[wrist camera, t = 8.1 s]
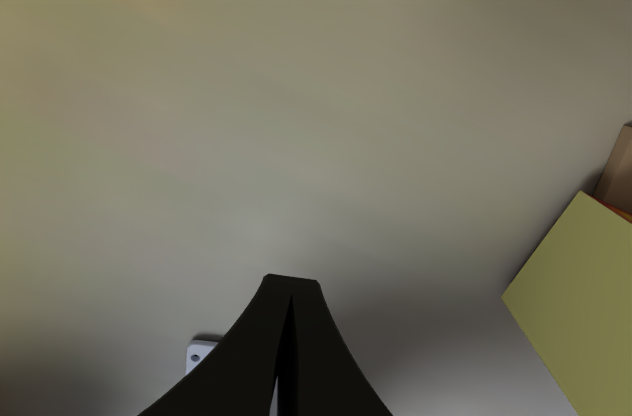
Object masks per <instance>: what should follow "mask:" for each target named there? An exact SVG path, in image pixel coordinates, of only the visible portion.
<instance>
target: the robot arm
mask: <svg viewBox="0 0 632 416" xmlns="http://www.w3.org/2000/svg"><path fill="white" fill-rule="evenodd" d="M194 355H198V356H199V357H196V356H194ZM137 416H393V415H392V414H391V412H390V411H389V410H388V409H387V407H386V406H385V405H384V403H383V402H382V401H381V399H380V398H379V397H378V395H377V394H376V392H375V391H374V390H373V388H372V387H371V385H370V384H369V382H368V381H367V379H366V378H365V376H364V375H363V373H362V372H361V370H360V368H359V367H358V365H357V363H356V362H355V360H354V358H353V357H352V355H351V353H350V352H349V350H348V348H347V346H346V344H345V342H344V341H343V339H342V337H341V335H340V333H339V331H338V329H337V327H336V325H335V322H334V320H333V318H332V316H331V314H330V311H329V309H328V307H327V304H326V302H325V299H324V296H323V293H322V290H321V287H320V284H319V283H318V282H317V280H311V279H304V278H297V277H290V276H283V275H276V274H267V275H266V276H264V277H263V280H262V283H261V285H260V287H259V289H258V290H257V292H256V294H255V295H254V297H253V298H252V300H251V302H250V303H249V305H248V306H247V307H246V309H245V310H244V312H243V313H242V314H241V316H240V317H239V318H238V320H237V321H236V322H235V324H234V325H233V326H232V327H231V329H230V330H229V331H228V332H227V333H226V334H225V336H224V337H223V338H222V339H221V340H220V341H219V342H211V341H202V340H193V341H191V342H190V343H189V345H188V347H187V356H186V376H185V377H184V378H183V379H182V380H181V381H179V382H178V383H177V384H176V385H175V386H174V387H173V388H171V389H170V390H169V391H168V392H167V393H166V394H164V395H163V396H162V397H161V398H160V399H158V400H157V401H156V402H155V403H153V404H152V405H151V406H149V407H148V408H147V409H145V410H144V411H143V412H141V413H140V414H139V415H137Z"/></svg>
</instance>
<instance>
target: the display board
mask: <svg viewBox="0 0 632 416" xmlns="http://www.w3.org/2000/svg"><path fill="white" fill-rule="evenodd" d="M593 197H596V198H598V199H600V200H602V201H604V202H606V203H608V204H610V205H613V206H615V207H617V208H619V209H621V210H623V211H625V212H628V213H630V214H632V126H625V125H624V126H623V128H622V130H621V133H620V135H619V137H618V139H617V142H616V144H615V146H614V148H613V151H612V153H611V155H610V157H609V160H608V162H607V164H606V167H605V169H604V171H603V173H602V176H601V178H600V180H599V182H598V185H597V187H596V189H595V192H594V194H593Z"/></svg>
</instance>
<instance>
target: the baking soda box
mask: <svg viewBox="0 0 632 416" xmlns="http://www.w3.org/2000/svg"><path fill="white" fill-rule="evenodd" d="M501 299H502V300H503V302H504V303H505V305H506V306H507V308H508V310H509V311H510V313H511V314H512V316H513V317H514V319H515V320H516V322H517V323H518V325H519V326H520V328H521V329H522V331H523V332H524V334H525V335H526V337H527V338H528V340H529V341H530V343H531V344H532V346H533V347H534V349H535V350H536V352H537V353H538V355H539V356H540V358H541V359H542V361H543V362H544V364H545V366H546V367H547V369H548V370H549V372H550V373H551V375H552V376H553V378H554V379H555V381H556V382H557V384H558V385H559V387H560V388H561V390H562V391H563V393H564V394H565V396H566V397H567V399H568V400H569V402H570V403H571V405H572V406H573V408H574V409H575V411H576V412H577V414H578V415H579V416H632V214H630V213H628V212H625V211H623V210H621V209H619V208H617V207H615V206H613V205H610V204H608V203H606V202H604V201H602V200H600V199H598V198H596V197H593V196H591V195H589V194H587V193H585V192H583V191H581V190H580V191H579V192H578V193H577V195H576V196H575V197H574V199H573V200H572V201H571V203H570V204H569V205H568V207H567V208H566V210H565V211H564V212H563V214H562V215H561V216H560V218H559V219H558V220H557V222H556V223H555V224H554V226H553V227H552V228H551V230H550V231H549V232H548V234H547V235H546V237H545V238H544V239H543V241H542V242H541V243H540V245H539V246H538V247H537V249H536V250H535V251H534V253H533V254H532V255H531V257H530V258H529V259H528V261H527V262H526V264H525V265H524V266H523V268H522V269H521V270H520V272H519V273H518V274H517V276H516V277H515V278H514V280H513V281H512V282H511V284H510V285H509V286H508V288H507V289H506V291H505V292H504V293H503V295H502V296H501Z"/></svg>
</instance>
